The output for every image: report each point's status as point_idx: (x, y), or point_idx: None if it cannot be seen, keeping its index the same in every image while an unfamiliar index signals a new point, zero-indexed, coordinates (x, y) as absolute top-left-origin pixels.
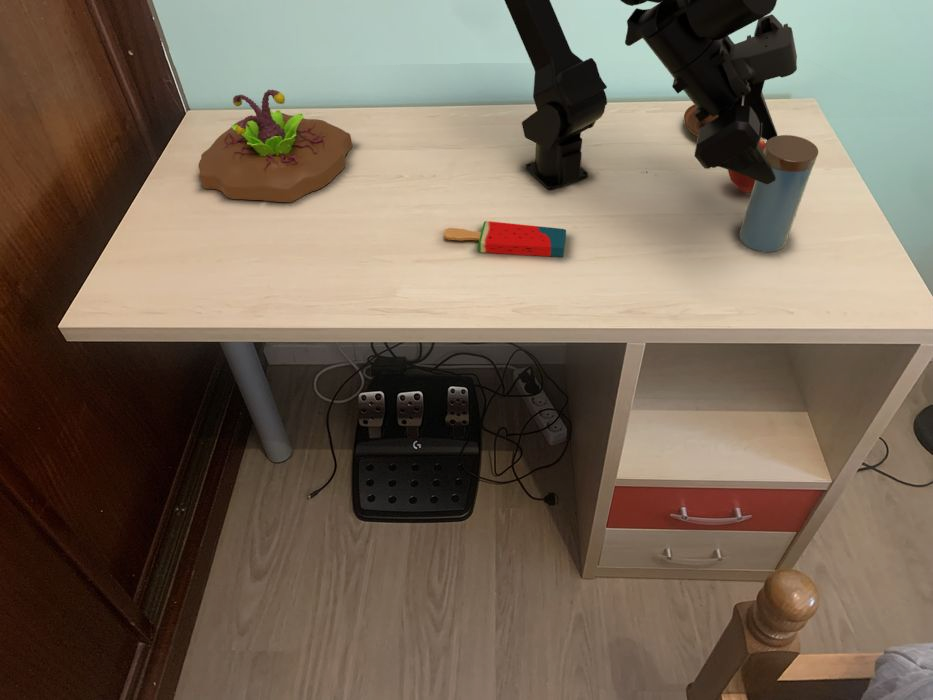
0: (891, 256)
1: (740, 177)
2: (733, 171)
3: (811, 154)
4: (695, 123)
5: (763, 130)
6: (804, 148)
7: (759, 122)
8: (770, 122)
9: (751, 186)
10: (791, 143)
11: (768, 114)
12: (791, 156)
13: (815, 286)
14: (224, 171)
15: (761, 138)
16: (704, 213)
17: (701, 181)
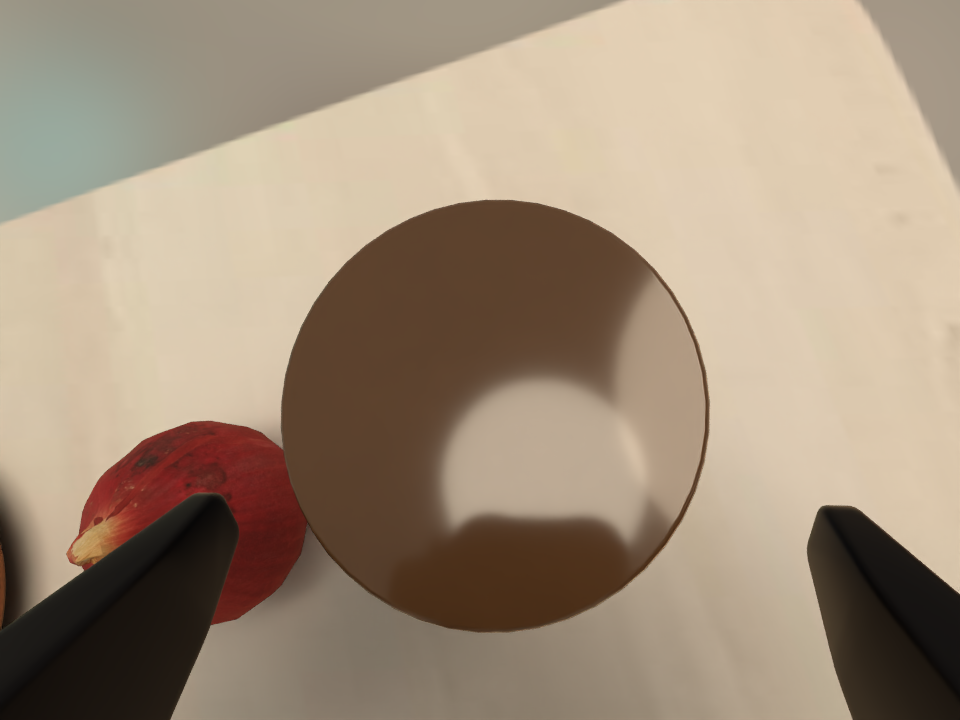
0: (529, 57)
1: (285, 569)
2: (252, 605)
3: (548, 246)
4: None
5: (185, 614)
6: (465, 301)
7: (123, 683)
8: (129, 591)
9: None
10: (407, 404)
11: (54, 647)
12: (623, 401)
13: (767, 260)
14: None
15: (91, 531)
16: (437, 665)
17: (230, 682)
